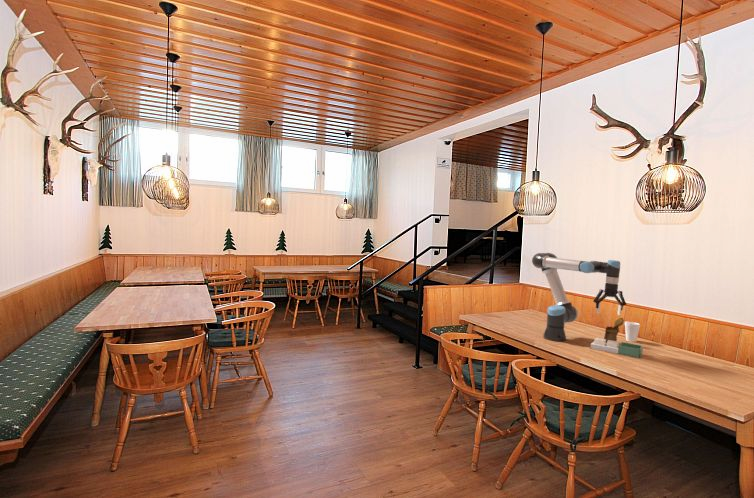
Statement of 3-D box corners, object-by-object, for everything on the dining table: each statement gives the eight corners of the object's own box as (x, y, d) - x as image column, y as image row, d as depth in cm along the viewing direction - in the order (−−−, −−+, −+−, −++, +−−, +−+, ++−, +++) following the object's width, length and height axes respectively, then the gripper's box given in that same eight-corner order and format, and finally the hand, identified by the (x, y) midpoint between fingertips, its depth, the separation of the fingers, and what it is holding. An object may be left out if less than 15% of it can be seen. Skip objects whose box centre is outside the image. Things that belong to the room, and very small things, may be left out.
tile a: (594, 343, 274) (594, 339, 273) (596, 341, 278) (596, 337, 278) (604, 345, 270) (604, 341, 270) (605, 343, 275) (606, 339, 274)
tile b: (606, 346, 269) (607, 341, 269) (608, 344, 274) (608, 339, 273) (617, 347, 265) (617, 343, 265) (618, 346, 270) (619, 341, 270)
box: (617, 353, 262) (618, 345, 262) (620, 349, 272) (621, 341, 272) (639, 358, 255) (640, 349, 255) (642, 354, 264) (642, 345, 264)
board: (590, 348, 272) (590, 343, 272) (594, 344, 282) (594, 340, 282) (617, 353, 262) (618, 349, 262) (620, 349, 272) (621, 345, 272)
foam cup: (625, 338, 305) (627, 321, 304) (640, 341, 298) (641, 323, 297) (622, 340, 298) (623, 322, 297) (636, 343, 291) (638, 325, 291)
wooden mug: (625, 344, 286) (627, 319, 285) (609, 345, 283) (611, 319, 282) (615, 341, 295) (617, 316, 294) (599, 341, 291) (601, 316, 290)
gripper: (594, 282, 272) (591, 313, 274) (634, 285, 270) (630, 317, 271) (590, 280, 280) (586, 311, 282) (628, 283, 277) (625, 314, 279)
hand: (608, 314), depth 277 cm, fingers open, 13 cm apart
